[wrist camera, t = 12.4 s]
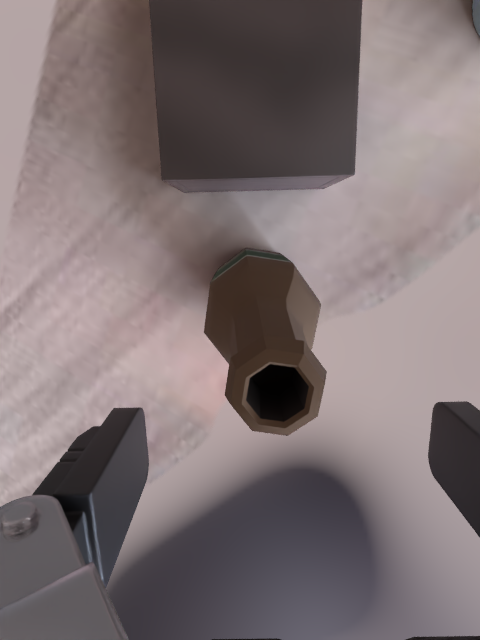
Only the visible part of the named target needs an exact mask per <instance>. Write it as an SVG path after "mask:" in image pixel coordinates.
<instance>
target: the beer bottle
mask: <svg viewBox="0 0 480 640" xmlns="http://www.w3.org/2000/svg"><path fill="white" fill-rule="evenodd" d="M320 307H321V304H320V302H319V300H318V298H317V297H316V295H315V294H314V293H313V291H312V290H311V288H310V287H309V285H308V284H307V283H306V281H305V280H304V278H303V277H302V275H301V274H300V273H299V271H298V270H297V268H296V267H295V266H294V264H293V263H292V262H291V261H290V260H288V259H287V258H286V257H284V256H283V255H282V254H280V253H276V252H270V251H263V250H257V249H250V248H245V249H244V250H242V251H241V252H240V253H238V254H237V255H236V256H234V257H233V258H232V259H230V260H229V261H228V262H226V263H225V264H224V265H222V266H221V267H220V268H219V269H218V270H217V272H216V274H215V276H214V277H213V279H212V281H211V282H210V290H209V297H208V305H207V312H206V320H205V328H204V333H205V334H206V336H207V337H208V338H209V339H210V341H211V342H212V343H213V344H214V346H215V347H216V348H217V350H218V351H219V352H220V353H221V355H222V356H223V357H224V358H225V360H226V361H227V362H228V363H229V370H228V377H227V384H226V390H225V396H226V398H227V399H228V401H229V403H230V404H231V405H232V407H233V408H234V409H235V410H236V412H237V413H238V414H239V415H240V416H241V418H242V419H243V420H244V421H245V423H246V424H247V425H248V426H249V428H250V429H251V430H252V431H258V432H265V433H272V434H279V435H286V436H287V435H289V434H291V433H292V432H294V431H296V430H297V429H299V428H300V427H302V426H303V425H305V424H307V423H308V422H309V421H311V420H313V419H314V418H316V417H317V416H318V412H319V408H320V403H321V398H322V394H323V389H324V385H325V379H326V370H325V369H324V368H323V366H322V365H321V363H320V362H319V361H318V359H317V358H316V357H315V355H314V354H313V353H312V351H311V349H312V346H313V342H314V337H315V332H316V327H317V322H318V317H319V312H320Z"/></svg>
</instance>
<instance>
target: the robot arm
mask: <svg viewBox="0 0 480 640" xmlns="http://www.w3.org/2000/svg"><path fill="white" fill-rule="evenodd" d="M428 458H429V464H430V469H431V472H432V474H433V476H434V478H435V479H436V480H437V482H438V483H439V484H440V485H441V487H442V488H443V490H444V491H445V492H446V493H447V495H448V496H449V497H450V499H451V500H452V501H453V503H454V504H455V505H456V507H457V508H458V509H459V511H460V512H461V513H462V514H463V516H464V517H465V519H466V520H467V521H468V523H469V524H470V525H471V526H472V528H473V529H474V530H475V532H476V533H477V534H478V536H479V537H480V411H479V410H478V409H477V408H476V407H474V406H473V405H472V404H471V403H469V402H438V403H436V404H435V406H434V408H433V413H432V423H431V433H430V442H429V452H428ZM148 466H149V458H148V447H147V437H146V426H145V416H144V411H143V409H142V408H114V409H113V410H112V411H111V413H110V414H109V415H108V417H107V418H106V420H105V421H104V422H103V424H102V425H101V426H94V427H92V428H90V429H89V430H87V431H86V432H84V433H83V434H81V435H80V436H78V437H77V438H76V440H75V441H74V442H73V444H72V445H71V446H70V447H69V449H68V452H65V454H64V455H63V456H62V458H61V459H60V462H58V463H57V464H56V465H55V466H54V468H53V469H52V470H51V472H50V473H49V474H48V475H47V477H46V478H45V479H44V481H43V482H42V483H41V484H40V486H39V487H38V488H37V489H36V491H35V492H34V493H33V495H32V496H26V497H22V498H19V499H16V500H14V501H11V502H9V503H7V504H5V505H3V506H1V507H0V640H128V637H127V635H126V633H125V630H124V628H123V626H122V624H121V621H120V619H119V617H118V615H117V612H116V610H115V608H114V606H113V604H112V601H111V599H110V597H109V595H108V592H107V590H106V586H107V584H108V581H109V578H110V576H111V573H112V570H113V568H114V565H115V563H116V560H117V557H118V555H119V552H120V549H121V547H122V544H123V541H124V539H125V536H126V533H127V531H128V528H129V526H130V523H131V520H132V518H133V515H134V512H135V510H136V507H137V504H138V502H139V499H140V497H141V494H142V491H143V489H144V486H145V483H146V480H147V475H148ZM212 640H280V639H212ZM406 640H480V636H461V637H460V636H457V637H456V636H454V637H412V638H409V639H406Z"/></svg>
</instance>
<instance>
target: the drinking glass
mask: <svg viewBox="0 0 480 640" xmlns="http://www.w3.org/2000/svg"><path fill="white" fill-rule="evenodd" d="M472 10H473V13H472V16H473V22H474V26H475V29H476V31H477V33H478V35H479V36H480V0H473V5H472Z"/></svg>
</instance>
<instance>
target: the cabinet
mask: <svg viewBox="0 0 480 640" xmlns="http://www.w3.org/2000/svg"><path fill="white" fill-rule="evenodd" d="M149 5H150V20H151V34H152V48H153V62H154V76H155V91H156V105H157V119H158V133H159V147H160V161H161V176H162V180H163V181H165V182H166V183H168V184H170V185H172V186H173V187H175V188H177V189H179V190H180V191H182V192H184V193H187V192H223V191H259V190H295V189H324V188H326V187H329V186H331V185H333V184H335V183H337V182H340V181H342V180H344V179H346V178H348V177H350V176H353V175H354V174H355V155H356V132H357V109H358V86H359V63H360V39H361V16H362V0H149Z"/></svg>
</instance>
